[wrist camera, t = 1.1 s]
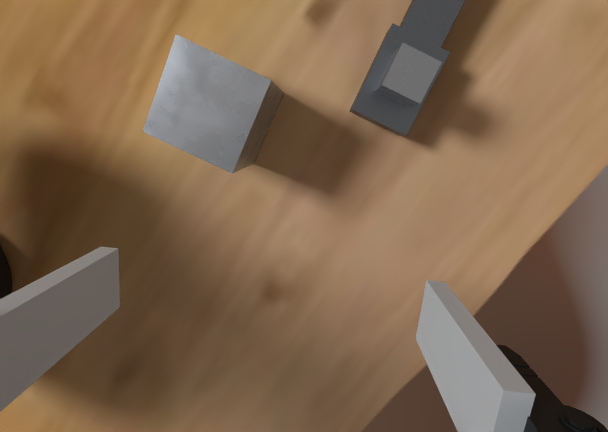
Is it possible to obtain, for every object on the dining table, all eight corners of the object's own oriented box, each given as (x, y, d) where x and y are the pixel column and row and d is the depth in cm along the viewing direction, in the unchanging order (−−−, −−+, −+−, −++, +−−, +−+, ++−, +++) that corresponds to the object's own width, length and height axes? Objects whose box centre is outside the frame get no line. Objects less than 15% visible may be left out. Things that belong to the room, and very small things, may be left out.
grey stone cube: (184, 131, 34) (142, 131, 26) (212, 57, 32) (176, 34, 24) (253, 163, 34) (232, 173, 26) (283, 92, 32) (271, 80, 25)
